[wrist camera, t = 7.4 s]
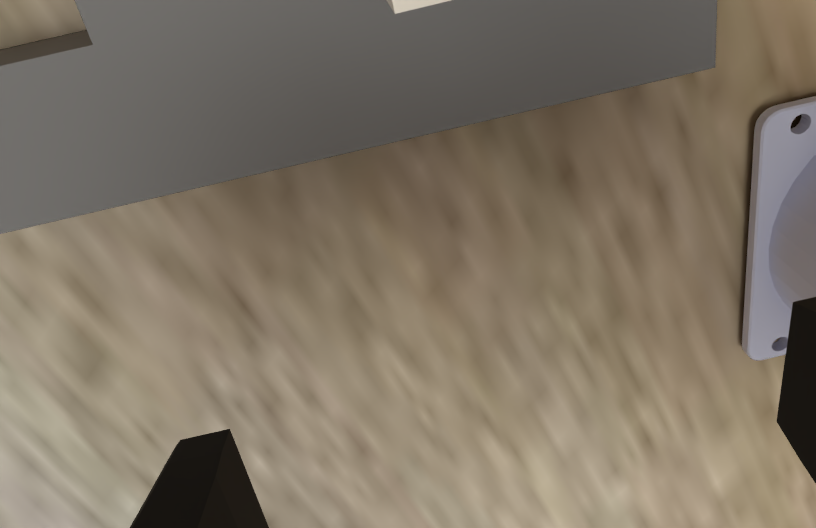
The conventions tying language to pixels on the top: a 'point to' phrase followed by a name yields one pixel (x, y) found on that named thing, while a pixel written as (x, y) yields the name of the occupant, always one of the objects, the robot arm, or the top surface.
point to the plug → (411, 4)
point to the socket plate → (299, 85)
